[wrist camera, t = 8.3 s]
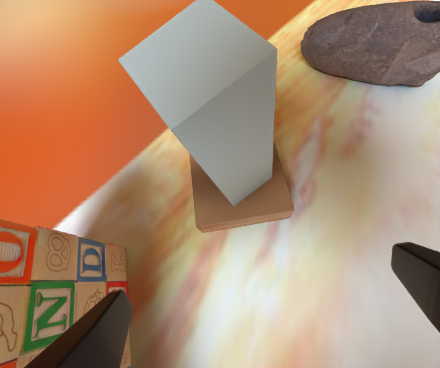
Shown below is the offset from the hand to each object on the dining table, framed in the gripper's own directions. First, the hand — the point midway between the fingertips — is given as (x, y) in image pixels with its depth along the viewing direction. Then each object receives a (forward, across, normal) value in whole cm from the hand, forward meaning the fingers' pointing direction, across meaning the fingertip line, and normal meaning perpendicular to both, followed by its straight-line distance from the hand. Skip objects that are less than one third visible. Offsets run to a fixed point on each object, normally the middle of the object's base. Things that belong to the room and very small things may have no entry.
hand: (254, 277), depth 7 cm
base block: (+14, 0, +2) cm, 15 cm away
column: (+12, 0, 0) cm, 12 cm away
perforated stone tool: (+22, -17, -5) cm, 28 cm away
